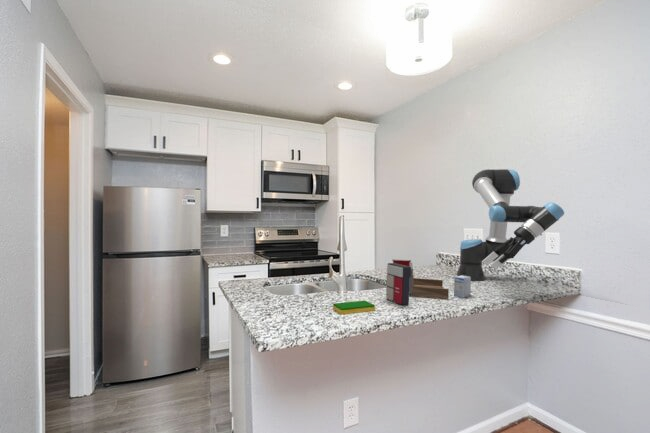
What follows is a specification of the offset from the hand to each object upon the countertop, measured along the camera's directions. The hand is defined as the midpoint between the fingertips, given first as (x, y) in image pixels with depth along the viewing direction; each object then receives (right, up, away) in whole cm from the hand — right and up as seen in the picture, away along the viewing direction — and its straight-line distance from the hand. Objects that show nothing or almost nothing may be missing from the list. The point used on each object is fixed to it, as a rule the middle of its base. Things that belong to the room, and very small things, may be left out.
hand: (488, 265), depth 134 cm
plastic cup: (-29, -14, +37) cm, 49 cm away
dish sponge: (-62, -13, -23) cm, 67 cm away
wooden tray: (-24, -14, +8) cm, 29 cm away
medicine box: (-11, -15, +3) cm, 18 cm away
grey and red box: (-43, -13, -11) cm, 46 cm away
